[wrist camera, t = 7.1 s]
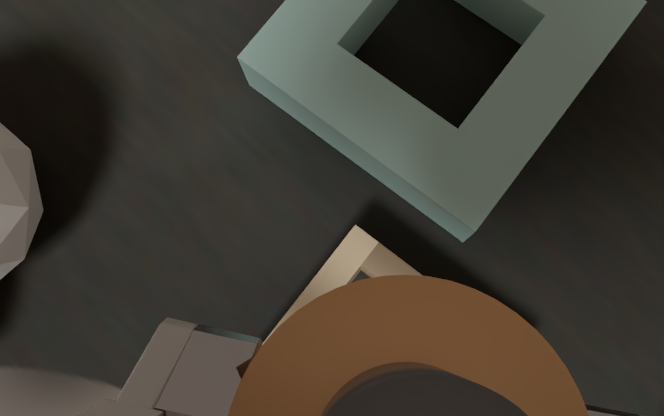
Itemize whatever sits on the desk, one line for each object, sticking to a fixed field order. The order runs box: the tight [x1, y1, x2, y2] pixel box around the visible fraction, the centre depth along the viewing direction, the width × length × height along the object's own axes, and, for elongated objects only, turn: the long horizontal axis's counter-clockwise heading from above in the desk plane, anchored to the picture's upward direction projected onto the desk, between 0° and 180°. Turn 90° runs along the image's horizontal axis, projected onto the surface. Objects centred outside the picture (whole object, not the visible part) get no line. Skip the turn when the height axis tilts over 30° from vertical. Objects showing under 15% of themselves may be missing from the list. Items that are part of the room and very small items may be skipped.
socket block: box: [237, 0, 647, 242], centre depth 27 cm, size 12×12×3 cm
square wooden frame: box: [262, 225, 423, 345], centre depth 25 cm, size 9×9×2 cm
